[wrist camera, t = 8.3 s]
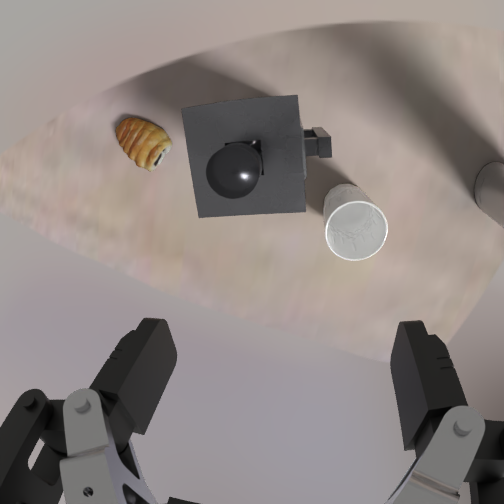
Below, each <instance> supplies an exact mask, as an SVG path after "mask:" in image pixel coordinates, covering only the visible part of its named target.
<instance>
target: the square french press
mask: <svg viewBox="0 0 504 504" xmlns="http://www.w3.org/2000/svg"><path fill="white" fill-rule="evenodd" d="M182 116H183V123H184V130H185V137H186V144H187V150H188V157H189V163H190V169H191V175H192V181H193V187H194V193H195V199H196V205H197V210H198V216H199V218H205V217H220V216H236V215H254V214H274V213H296V212H306V203H305V184H304V180H305V179H306V177H307V171H306V156H316V155H318V156H319V158H330V157H332V147H331V136H330V135H329V134H328V133H327V132H326V131H325V130H324V129H323V128H322V127H312V129H303V126H302V123H301V120H300V116H299V105H298V95H288V96H274V97H259V98H249V99H240V100H232V101H224V102H217V103H213V104H206V105H200V106H194V107H188V108H182ZM251 140H261V149H262V159H263V169H264V173H261V176H260V178H259V180H258V182H257V184H256V186H255V188H254V189H253V190H252V191H251V192H250V193H249V194H248V195H246V196H244V197H242V198H238V199H229V198H225V197H222V196H220V195H218V194H217V193H216V192H215V191H214V190H213V189H212V188H211V187H210V185H209V183H208V181H207V177H206V167H207V163H208V161H209V159H210V158H211V156H212V155H213V154H214V153H216V152H217V151H218V150H220V149H221V148H223V147H224V146H226V145H227V143H230V142H240V141H251Z"/></svg>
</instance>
